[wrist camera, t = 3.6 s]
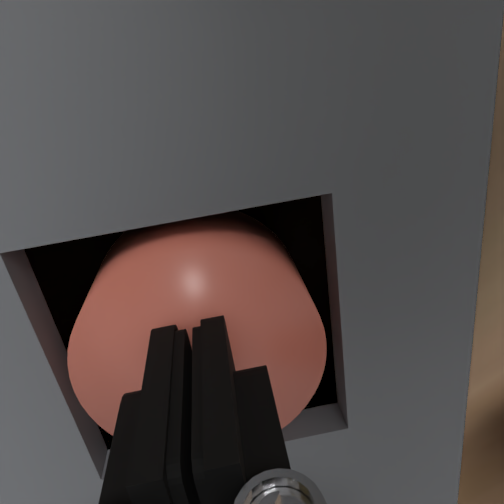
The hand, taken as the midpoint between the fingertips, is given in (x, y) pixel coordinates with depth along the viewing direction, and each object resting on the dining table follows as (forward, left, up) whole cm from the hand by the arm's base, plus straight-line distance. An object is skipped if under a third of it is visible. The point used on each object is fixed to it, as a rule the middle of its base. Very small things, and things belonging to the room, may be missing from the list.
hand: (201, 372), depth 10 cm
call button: (0, 0, -3) cm, 3 cm away
